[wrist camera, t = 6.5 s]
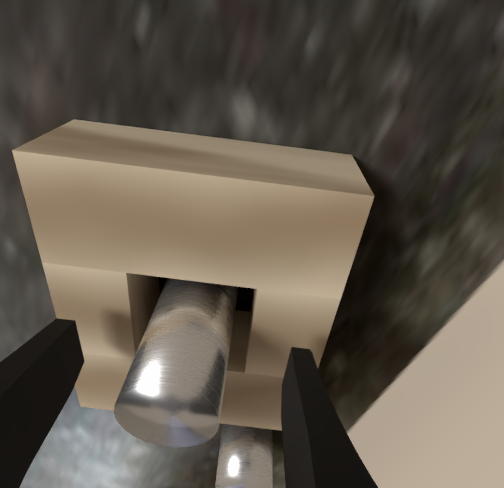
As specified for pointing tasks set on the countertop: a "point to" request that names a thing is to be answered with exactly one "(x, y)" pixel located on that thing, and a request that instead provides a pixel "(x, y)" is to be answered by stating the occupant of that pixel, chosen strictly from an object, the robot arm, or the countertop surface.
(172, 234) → the birch board
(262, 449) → the short steel pin
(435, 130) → the countertop surface
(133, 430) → the long steel pin
